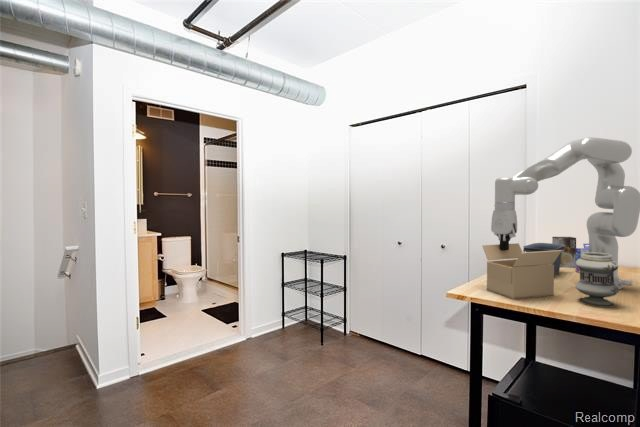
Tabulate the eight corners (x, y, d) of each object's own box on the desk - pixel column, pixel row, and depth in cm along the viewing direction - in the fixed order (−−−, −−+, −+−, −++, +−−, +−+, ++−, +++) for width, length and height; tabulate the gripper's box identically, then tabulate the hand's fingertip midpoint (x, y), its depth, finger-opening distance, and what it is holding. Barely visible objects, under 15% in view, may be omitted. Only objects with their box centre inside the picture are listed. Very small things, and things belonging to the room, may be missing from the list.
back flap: (524, 257, 145) (524, 257, 146) (518, 243, 148) (518, 243, 149) (488, 259, 141) (487, 260, 141) (482, 245, 144) (482, 245, 144)
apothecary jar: (573, 296, 131) (573, 250, 130) (613, 300, 124) (614, 252, 124) (577, 305, 120) (578, 255, 119) (622, 310, 114) (623, 257, 113)
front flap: (560, 250, 129) (561, 250, 129) (552, 262, 133) (553, 263, 132) (520, 252, 125) (521, 253, 124) (513, 265, 128) (514, 266, 128)
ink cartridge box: (596, 271, 171) (597, 243, 171) (603, 274, 166) (603, 244, 165) (574, 271, 173) (574, 243, 173) (580, 273, 168) (580, 244, 167)
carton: (525, 286, 146) (525, 258, 146) (554, 295, 133) (554, 264, 132) (486, 289, 142) (486, 261, 141) (512, 299, 128) (512, 268, 128)
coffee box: (569, 265, 188) (570, 236, 187) (576, 267, 182) (577, 237, 181) (551, 264, 190) (552, 236, 189) (557, 267, 183) (558, 237, 183)
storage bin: (552, 280, 156) (552, 249, 156) (515, 274, 169) (516, 245, 168) (566, 273, 170) (567, 244, 169) (532, 268, 182) (532, 241, 181)
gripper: (484, 206, 150) (484, 247, 150) (511, 207, 135) (510, 253, 136) (498, 206, 151) (498, 247, 152) (526, 207, 137) (526, 252, 138)
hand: (504, 249), depth 144 cm, fingers closed
